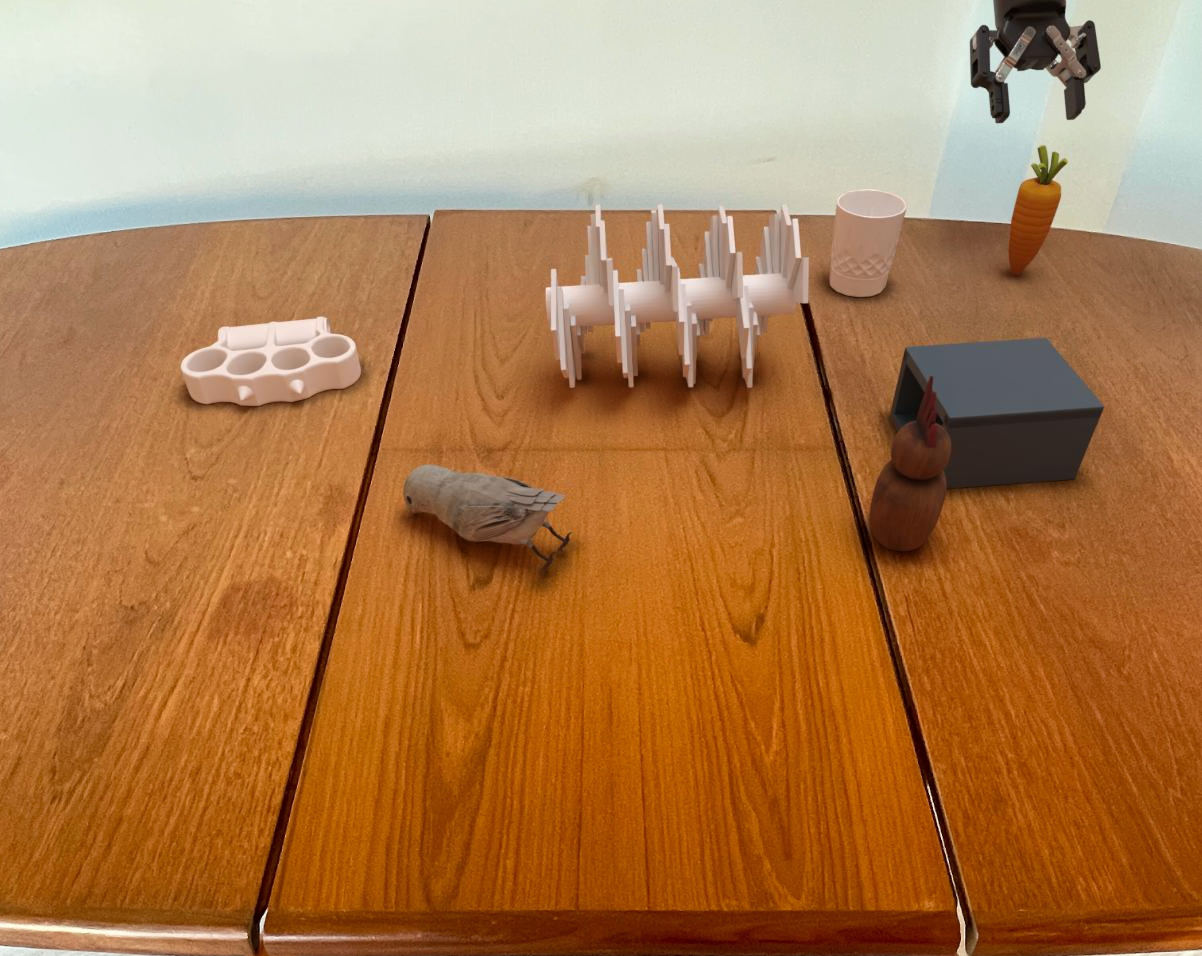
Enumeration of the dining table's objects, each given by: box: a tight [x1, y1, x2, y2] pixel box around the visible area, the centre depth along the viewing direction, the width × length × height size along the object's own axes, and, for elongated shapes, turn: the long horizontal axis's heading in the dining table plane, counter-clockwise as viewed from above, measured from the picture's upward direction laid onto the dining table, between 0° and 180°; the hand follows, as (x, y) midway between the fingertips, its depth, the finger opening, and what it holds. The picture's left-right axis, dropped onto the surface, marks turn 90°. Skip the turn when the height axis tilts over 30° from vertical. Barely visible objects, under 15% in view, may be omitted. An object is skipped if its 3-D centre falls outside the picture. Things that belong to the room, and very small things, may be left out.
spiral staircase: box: [545, 203, 810, 389], centre depth 99 cm, size 18×18×25 cm
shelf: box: [888, 337, 1105, 490], centre depth 92 cm, size 14×12×8 cm
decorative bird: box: [402, 463, 573, 578], centre depth 84 cm, size 5×16×7 cm, turn 62°
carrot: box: [1007, 144, 1069, 276], centre depth 115 cm, size 5×5×15 cm
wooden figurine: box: [869, 376, 951, 552], centre depth 81 cm, size 7×6×15 cm
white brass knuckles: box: [180, 316, 362, 407], centre depth 105 cm, size 3×18×15 cm
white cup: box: [828, 188, 908, 298], centre depth 116 cm, size 8×8×10 cm
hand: (1039, 118), depth 112 cm, fingers open, 8 cm apart
